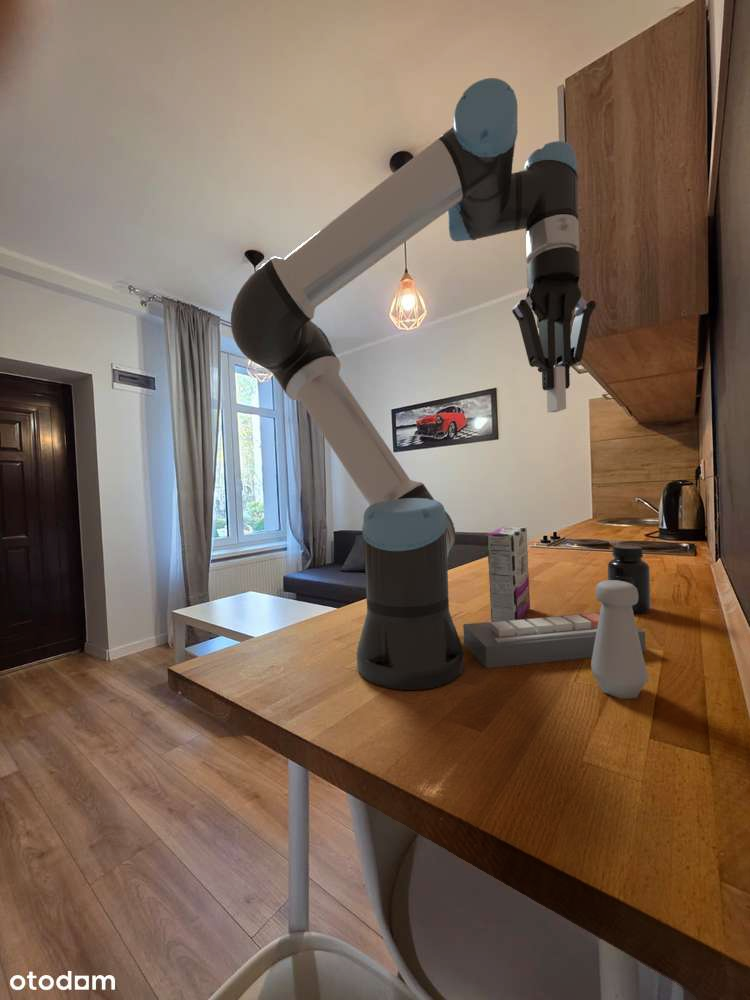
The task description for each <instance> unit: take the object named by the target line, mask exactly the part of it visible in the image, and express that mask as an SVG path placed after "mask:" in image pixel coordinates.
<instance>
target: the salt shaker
mask: <svg viewBox="0 0 750 1000" xmlns="http://www.w3.org/2000/svg"><path fill="white" fill-rule="evenodd" d="M595 596H596V599H597V601H598V602H600V603H601V604H600V605H601V606H600V609H599V610H600V611H599V612H600V615H599V621H598V626H597V632H596V638H595V644H594V649H593V655H592V658H591V662H590V665H591V667H590V668H591V672H592V675H593V676H594V678H595V679H596V681H597V683H598V685H599V687H600V689H601V690H602V692H603V693H604V694H607V695H610V696H612V697H615V698H618V699H621V700H624V699H637V698H638V697H639V695H640V693H641V691H642V690H643V688H644V687H645V685H646V683H647V682H648V678H649V675H648V671H647V667H646V663H645V662H646V661H645V659H644V654H643V652H642V649H641V645H640V640H639V636H638V631H637V628H638V626H637V622H636V617H635V615H634V614H635V613H633V609H632V605H635V604H637V602H638V591H637V588H636V587H635V586H634V585H633V584H630V583H627V582H623V581H617V580H608V579H607V580H602V581H600V582H598V583H597V584H596V587H595Z"/></svg>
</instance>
